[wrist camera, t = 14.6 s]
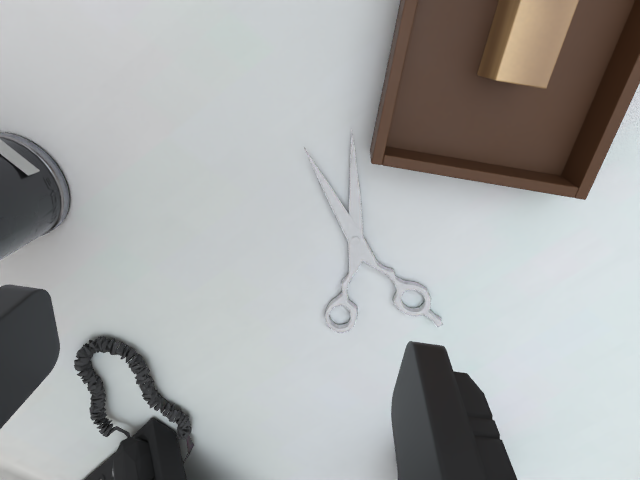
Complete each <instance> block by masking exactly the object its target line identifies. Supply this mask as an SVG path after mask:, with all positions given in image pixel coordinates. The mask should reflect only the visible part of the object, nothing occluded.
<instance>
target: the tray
mask: <svg viewBox="0 0 640 480" xmlns="http://www.w3.org/2000/svg"><path fill="white" fill-rule="evenodd" d="M498 2H499V0H401V1H400V6H399V11H398V16H397V21H396V26H395V31H394V36H393V40H392V45H391V50H390V55H389V60H388V65H387V70H386V75H385V80H384V85H383V89H382V94H381V99H380V104H379V109H378V114H377V119H376V124H375V129H374V134H373V138H372V143H371V148H370V154H371V163H372V164H378V165H384V166H390V167H395V168H401V169H407V170H413V171H419V172H425V173H431V174H437V175H443V176H449V177H454V178H460V179H466V180H472V181H478V182H484V183H490V184H496V185H502V186H508V187H514V188H519V189H525V190H531V191H537V192H543V193H549V194H555V195H561V196H567V197H575V198H578V199H584V200H586V198H587V196H588V193H589V191H590V189H591V187H592V185H593V183H594V180H595V178H596V176H597V174H598V172H599V170H600V167H601V165H602V163H603V161H604V159H605V157H606V154H607V152H608V150H609V148H610V146H611V144H612V141H613V139H614V137H615V135H616V133H617V131H618V128H619V126H620V124H621V122H622V120H623V118H624V115H625V113H626V111H627V109H628V107H629V105H630V102H631V100H632V98H633V96H634V94H635V92H636V89H637V87H638V85H639V83H640V0H579V2H578V4H577V7H576V10H575V12H574V15H573V18H572V20H571V23H570V26H569V29H568V31H567V34H566V37H565V39H564V42H563V45H562V47H561V50H560V53H559V56H558V58H557V61H556V64H555V66H554V69H553V72H552V75H551V77H550V80H549V83H548V85H547V88H546V89H542V88H536V87H530V86H524V85H518V84H512V83H506V82H500V81H495V80H492V79H488V78H484V77H481V76H478V75H477V73H478V70H479V66H480V63H481V59H482V56H483V53H484V49H485V46H486V42H487V39H488V36H489V32H490V29H491V25H492V22H493V19H494V15H495V12H496V9H497V5H498Z"/></svg>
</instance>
